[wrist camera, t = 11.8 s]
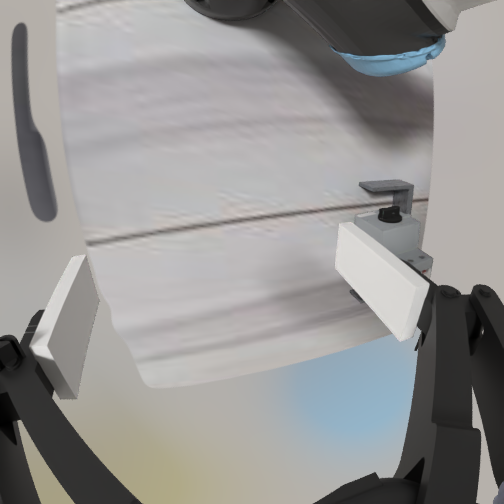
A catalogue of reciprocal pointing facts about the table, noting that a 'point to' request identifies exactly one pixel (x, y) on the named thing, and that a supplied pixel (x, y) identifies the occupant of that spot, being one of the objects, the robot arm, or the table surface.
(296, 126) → the table surface
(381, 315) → the robot arm
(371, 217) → the circuit breaker
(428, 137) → the table surface
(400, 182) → the grey u-shaped bracket
